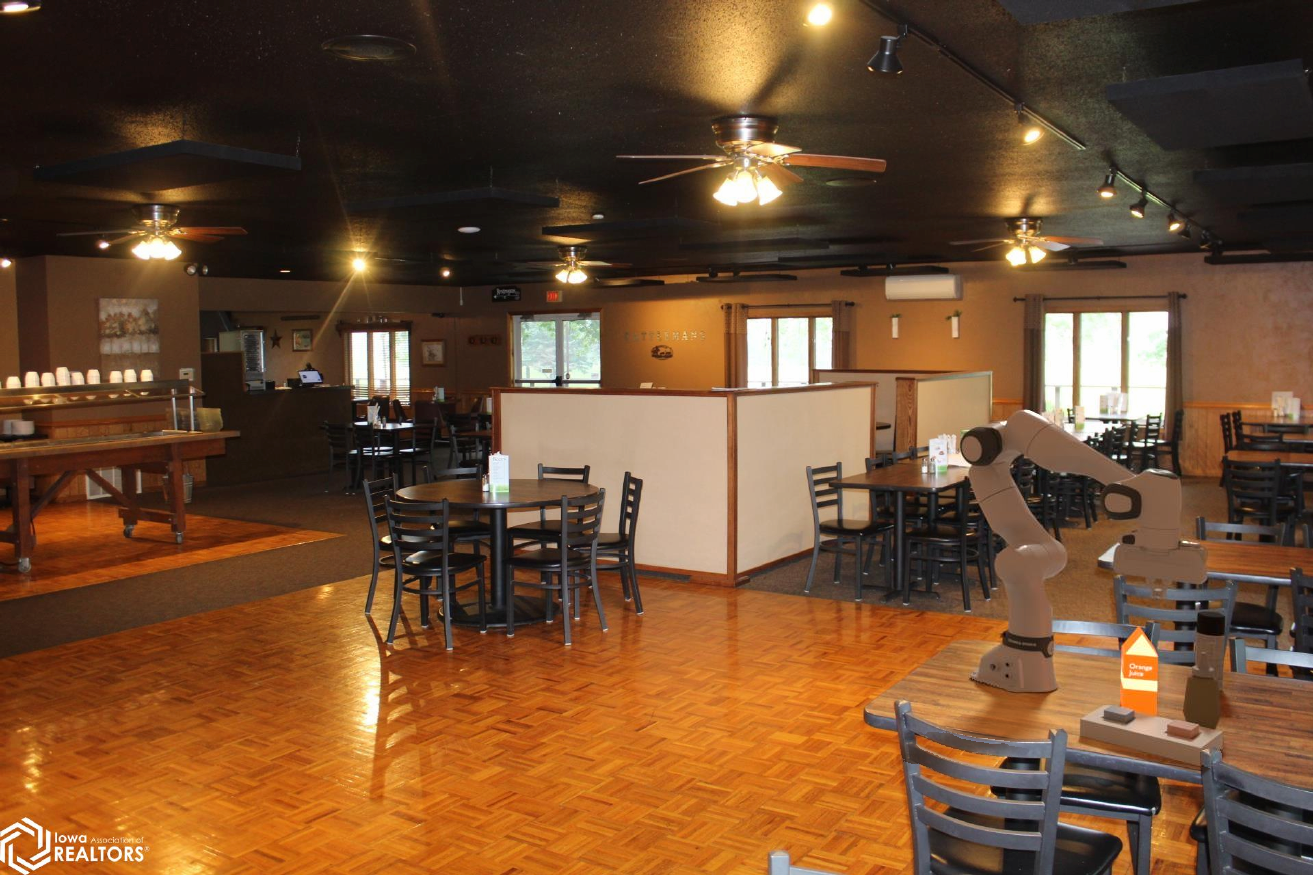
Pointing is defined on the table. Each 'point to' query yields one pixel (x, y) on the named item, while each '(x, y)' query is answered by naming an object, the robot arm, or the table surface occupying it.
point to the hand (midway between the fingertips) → (1158, 597)
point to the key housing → (1149, 736)
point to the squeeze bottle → (1202, 696)
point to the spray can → (1211, 641)
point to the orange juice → (1139, 674)
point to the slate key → (1119, 714)
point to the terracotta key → (1183, 729)
